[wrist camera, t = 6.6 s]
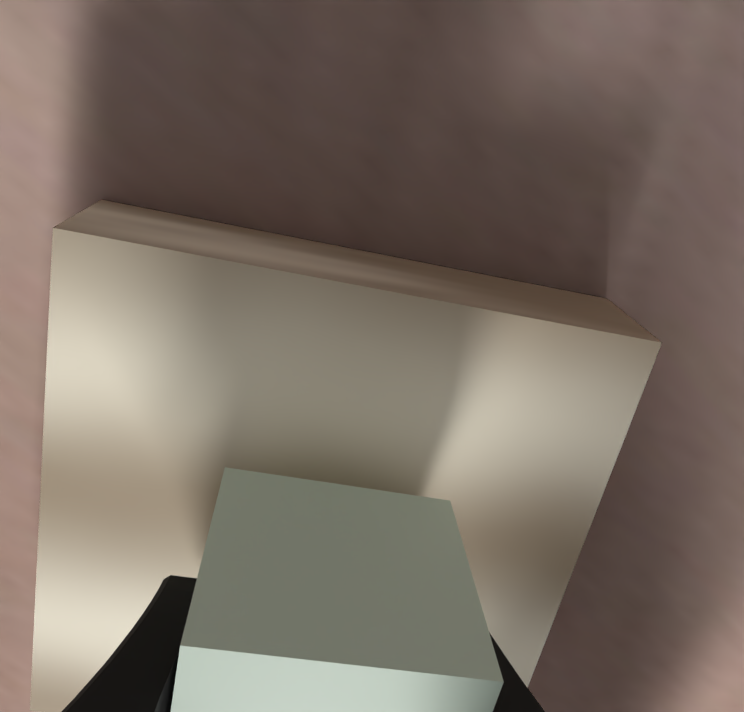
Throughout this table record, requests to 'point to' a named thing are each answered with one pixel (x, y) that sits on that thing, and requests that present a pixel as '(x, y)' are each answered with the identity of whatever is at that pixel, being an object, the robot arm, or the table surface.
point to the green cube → (333, 605)
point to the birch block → (308, 413)
